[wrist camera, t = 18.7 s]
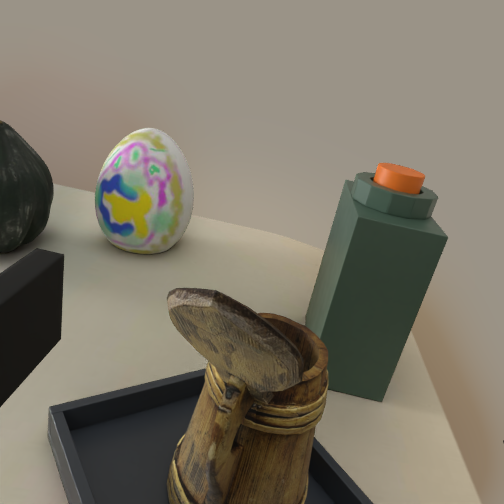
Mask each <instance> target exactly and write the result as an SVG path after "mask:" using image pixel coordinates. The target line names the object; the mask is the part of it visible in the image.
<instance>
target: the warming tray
mask: <svg viewBox="0 0 504 504" xmlns="http://www.w3.org/2000/svg"><path fill="white" fill-rule="evenodd" d="M205 373H206V369H202V370H198V371H194V372H189V373H185V374H181V375H177V376H173V377H169V378H165V379H161V380H157V381H153V382H149V383H144V384H140V385H136V386H132V387H128V388H124V389H120V390H116V391H112V392H108V393H104V394H100V395H95V396H91V397H87V398H83V399H79V400H75V401H71V402H67V403H63V404H59V405H55V406H50V407H49V418H48V439H49V442H50V445H51V448H52V452H53V455H54V458H55V461H56V464H57V467H58V471H59V474H60V477H61V480H62V483H63V487H64V490H65V493H66V496H67V499H68V502H69V504H170V503H169V498H168V491H167V479H168V473H169V468H170V464H171V462H172V459H173V456H174V453H175V450H176V447H177V444H178V443H179V441H180V439H181V438H182V437H183V436H184V435H185V433H186V431H187V429H188V426H189V423H190V421H191V418H192V415H193V413H194V410H195V407H196V405H197V402H198V399H199V397H200V394H201V392H202V389H203V386H204V383H205ZM304 504H373V503H372V502H371V500H370V499H369V498H368V497H367V496H366V495H365V494H364V493H363V491H362V490H361V489H360V488H359V487H358V486H357V485H356V484H355V482H354V481H353V480H352V479H351V478H350V477H349V476H348V475H347V473H346V472H345V471H344V470H343V469H342V468H341V467H340V466H339V464H338V463H337V462H336V461H335V460H334V459H333V458H332V457H331V455H330V454H329V453H328V452H327V451H326V450H325V449H324V448H323V446H322V445H321V444H320V443H319V442H318V441H317V440H316V439H315V437H314V439H313V445H312V451H311V457H310V463H309V469H308V493H307V496H306V499H305V503H304Z"/></svg>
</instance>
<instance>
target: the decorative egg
mask: <svg viewBox="0 0 504 504" xmlns="http://www.w3.org/2000/svg"><path fill="white" fill-rule="evenodd" d="M193 201H194V192H193V181H192V176H191V172H190V169H189V166H188V164H187V161H186V159H185V157H184V155H183V153H182V151H181V150H180V148H179V147H178V145H177V144H176V142H175V141H174V140H173V139H172V138H171V137H170V136H169V135H167V134H166V133H164V132H163V131H161V130H158V129H154V128H144V129H140V130H137V131H135V132H133V133H131V134H130V135H128V136H126V137H125V138H124V139H123V140H122V141H121V142H120V143H119V144H118V145H117V146H116V147H115V148H114V149H113V150H112V152H111V153H110V154H109V156H108V158H107V159H106V161H105V163H104V165H103V167H102V169H101V172H100V175H99V178H98V181H97V186H96V192H95V209H96V216H97V219H98V222H99V225H100V227H101V230H102V231H103V233H104V235H105V236H106V238H107V239H108V240H109V242H110V243H112V244H113V245H114V246H116V247H117V248H119V249H122V250H125V251H128V252H132V253H138V254H155V253H160V252H164V251H166V250H168V249H170V248H171V247H172V246H173V245H174V244H175V243H176V242H177V241H178V240H179V239H180V238H181V236H182V235H183V234H184V232H185V230H186V228H187V226H188V224H189V221H190V218H191V215H192V210H193Z"/></svg>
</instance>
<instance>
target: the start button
mask: <svg viewBox="0 0 504 504" xmlns="http://www.w3.org/2000/svg"><path fill="white" fill-rule="evenodd" d="M424 179H425V175H424V174H422V173H420V172H418V171H416V170H413V169H410V168H407V167H403V166H400V165H395V164H389V163H379V164H378V167H377V170H376V173H375V176H374V180H373V182H375V183H377V184H379V185H381V186H384V187H387V188H390V189H393V190H396V191H400V192H405V193H409V194H419V193H420V190H421V187H422V184H423V182H424Z"/></svg>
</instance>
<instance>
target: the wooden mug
mask: <svg viewBox="0 0 504 504" xmlns="http://www.w3.org/2000/svg"><path fill="white" fill-rule="evenodd" d="M167 302H168V310H169V315H170V318H171V320H172V322H173V324H174V326H175V327H176V329H177V330H178V331H179V332H180V333H181V334H182V336H183V337H184V338H185V339H186V340H187V341H188V342H189V343H190V344H191V345H192V346H193V347H194V348H195V349H196V350H197V351H198V352H199V353H200V354H201V355H203V356H204V357H205V358H206V359H207V360H208V364H207V367H206V373H205V383H204V386H203V389H202V392H201V394H200V397H199V399H198V402H197V405H196V407H195V410H194V413H193V415H192V418H191V421H190V423H189V426H188V429H187V431H186V433H185V435H184V436H183V437H182V438H181V439H180V441H179V443H178V444H177V447H176V450H175V453H174V456H173V459H172V462H171V464H170V468H169V473H168V479H167V491H168V498H169V503H170V504H304V503H305V499H306V496H307V493H308V469H309V463H310V457H311V451H312V445H313V439H314V433H315V427H316V424H317V423H318V422H319V421H320V420H321V417H322V414H323V411H324V408H325V405H326V396H327V390H328V371H327V365H328V350H327V348H326V346H325V345H324V343H323V342H322V341H321V340H320V339H319V337H318V336H317V335H316V334H315V333H314V332H312V331H311V330H310V329H309V328H308V327H306V326H304V325H301V324H299V323H297V322H295V321H292V320H290V319H288V318H286V317H283V316H280V315H276V314H270V313H258V314H257V313H256V312H255V311H253V310H252V309H250V308H249V307H247V306H245V305H243V304H241V303H240V302H238V301H236V300H234V299H232V298H231V297H229V296H227V295H225V294H223V293H220V292H218V291H216V290H208V289H197V288H176V289H174V290H172V291H170V292H169V294H168V297H167Z"/></svg>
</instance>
